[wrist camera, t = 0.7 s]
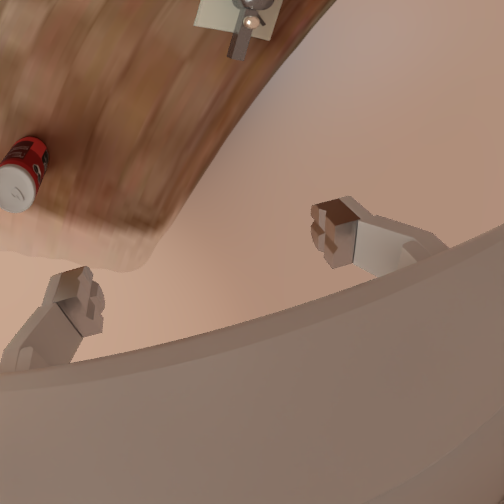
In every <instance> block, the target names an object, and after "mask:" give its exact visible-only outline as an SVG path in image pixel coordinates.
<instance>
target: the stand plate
mask: <svg viewBox="0 0 504 504" xmlns="http://www.w3.org/2000/svg"><path fill="white" fill-rule="evenodd" d="M282 2H283V0H274V3H273V4H272V6H271V7H269V8H268V9H266V10H255V11H259V12H258V15H257V17H258V18H259V20H260V25H259V26H258V27H257V28H256V29H253V31H252V34H251V36H252V37H256V38H260V39H264V40H268V41H270V38H271V35H272V32H273V29H274V26H275V23H276V20H277V17H278V14H279V11H280V8H281V5H282ZM239 12H240V9H238V8H236V7H235V6H234V5H233V2H232V0H201V1H200V5H199V8H198V12H197V16H196V19H195V23H194V26H198V27H205V28H211V29H217V30H223V31H228V32H234V29H235V26H236V22H237V19H238V16H239Z"/></svg>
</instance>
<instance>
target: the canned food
mask: <svg viewBox="0 0 504 504" xmlns="http://www.w3.org/2000/svg"><path fill="white" fill-rule="evenodd" d="M48 164H49V153H48V149H47V147H46V146H45V144H44V143H43V142H42V141H41V140H39V139H38V138H35V137H25V138H22V139H20V140H18V141H17V142H16V143H15V144H14V145H13V147H12V148H11V149H10V151H9V152H8V153H7V155H6V156H5V158H4V159H3V161H2V162H1V163H0V207H1V208H2V209H4V210H5V211H8V212H11V213H20V212H23V211H25V210H27V209H28V208H29V207H30V206H31V205H32V203H33V201H34V199H35V197H36V195H37V192H38V189H39V187H40V184H41V182H42V179H43V177H44V174H45V172H46V170H47V167H48Z"/></svg>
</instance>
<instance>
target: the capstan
mask: <svg viewBox="0 0 504 504" xmlns="http://www.w3.org/2000/svg"><path fill="white" fill-rule="evenodd" d="M232 2H233V5H234V6H235V7H236V8H238V9H240V12H239V16H238V19H237V22H236V26H235V29H234V32H233V36H232V39H231V43H230V46H229V50H228V54H227V57H229V58H231V59H236V60H241V61H244V58H245V54H246V51H247V48H248V44H249V41H250V38H251V34H252V31H253V29H256V28H257V27H258V26H259V25H260V20H259V18H258V17H257V15H258V12H259V11H255V10H266V9H268V8H269V7H271V6H272V4H273V3H274V0H232Z"/></svg>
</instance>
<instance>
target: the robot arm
mask: <svg viewBox="0 0 504 504" xmlns="http://www.w3.org/2000/svg"><path fill="white" fill-rule="evenodd" d="M311 216H312V218H313V219H314V222H313V224H312V225H311V235H312V239H313V242H314V244H315V246H316V248H317V249H318V250H319V251H322V252H324V258H325V260H326V261H327V262H328V264H329V265H330V266H331V268H332V269H334V268H337V267H341V266H344V265H348V264H351V263H353V264H354V265H356V266H358V267H360V268H362V269H364V270H365V271H367V272H369V273H371V274H373V275H375V276H377V277H378V278H376V279H373V280H370V281H367V282H365V283H362V284H359V285H356V286H354V287H351V288H348V289H345V290H343V291H339V292H337V293H334V294H331V295H328V296H325V297H322V298H319V299H316V300H313V301H310V302H307V303H304V304H301V305H298V306H295V307H292V308H289V309H285V310H282V311H279V312H276V313H273V314H269V315H266V316H263V317H259V318H256V319H253V320H249V321H246V322H242V323H239V324H235V325H232V326H228V327H225V328H221V329H218V330H214V331H210V332H207V333H203V334H199V335H195V336H192V337H188V338H184V339H180V340H176V341H172V342H168V343H164V344H160V345H155V346H151V347H147V348H143V349H138V350H133V351H129V352H124V353H119V354H115V355H110V356H105V357H100V358H95V359H90V360H85V361H79V362H74V363H70V362H71V360H72V358H73V356H74V354H75V352H76V351H77V348H78V347H79V345H80V343H81V341H82V339H83V337H87V336H91V335H94V334H98V333H102V328H103V317H102V315H101V313H102V311H103V310H104V307H105V300H104V295H103V292H102V290H101V288H100V286H99V284H98V283H96V282H94V281H92V277H93V274H92V272H91V270H90V268H89V267H87V266H84V267H80V268H76V269H73V270H69V271H66V272H63V273H59V274H56V275H53V276H52V277H51V278H50V281H49V284H48V287H47V290H46V293H45V297H44V299H43V303H42V306H41V307H38V308H37V310H36V311H35V312H34V313H33V314H32V315H31V317H30V318H29V319H28V320H27V321H26V323H25V324H24V325H23V326H22V328H21V329H20V330H19V331H18V333H17V334H16V335H15V336H14V338H13V339H12V340H11V342H10V343H9V344H8V345H7V347H6V348H5V349H4V352H3V355H2V359H1V363H0V504H504V224H502V225H500V226H498V227H496V228H494V229H492V230H490V231H487V232H485V233H483V234H481V235H479V236H477V237H475V238H472V239H470V240H468V241H466V242H464V243H461V244H459V245H457V246H455V247H452V248H448V247H447V246H446V245H445V244H444V243H443V242H442V241H441V240H440V239H438V238H437V237H436V236H435V235H434V234H433V233H431V232H428V231H425V230H422V229H419V228H416V227H413V226H410V225H407V224H404V223H401V222H398V221H394V220H391V219H388V218H385V217H381V216H378V215H376V216H373V215H372V214H371V213H370V212H369V211H367V210H366V209H365V208H364V207H363V206H362V205H361V204H359V203H358V202H357V201H356V200H355V199H354V198H352V197H351V196H346V197H342V198H338V199H335V200H331V201H327V202H323V203H319V204H315V205H312V207H311Z"/></svg>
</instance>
